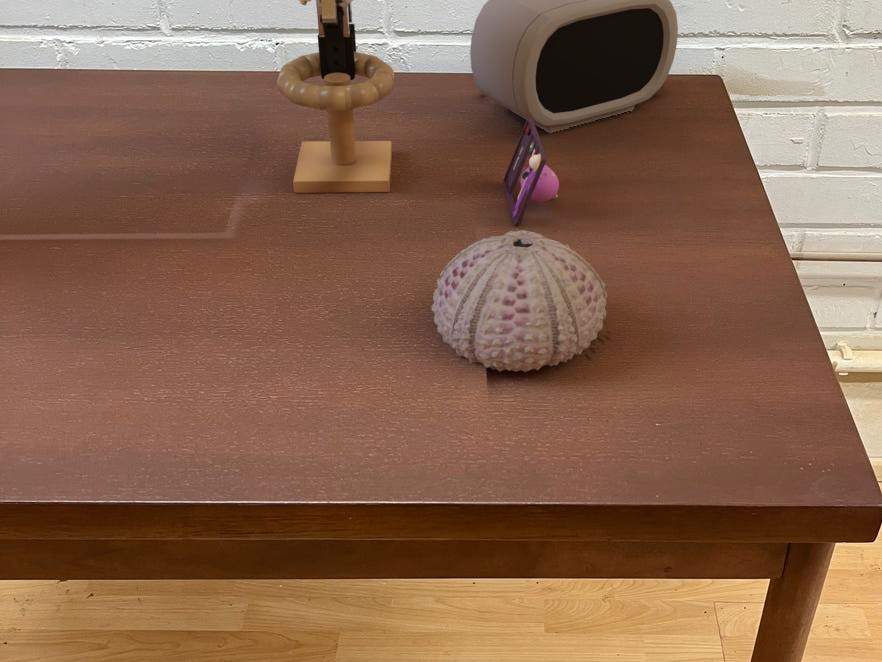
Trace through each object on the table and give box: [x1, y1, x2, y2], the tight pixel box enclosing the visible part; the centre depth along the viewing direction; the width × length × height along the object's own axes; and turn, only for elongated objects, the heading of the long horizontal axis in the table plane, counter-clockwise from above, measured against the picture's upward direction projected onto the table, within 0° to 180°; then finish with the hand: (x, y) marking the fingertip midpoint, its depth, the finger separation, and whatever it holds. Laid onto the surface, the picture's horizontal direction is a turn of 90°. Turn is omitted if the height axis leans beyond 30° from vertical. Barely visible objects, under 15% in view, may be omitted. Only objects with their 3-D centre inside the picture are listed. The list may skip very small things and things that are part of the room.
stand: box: [292, 73, 393, 194], centre depth 96 cm, size 9×9×9 cm
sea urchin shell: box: [430, 229, 609, 373], centre depth 75 cm, size 13×14×8 cm
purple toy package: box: [502, 117, 560, 227], centre depth 92 cm, size 7×5×9 cm
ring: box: [276, 51, 395, 111], centre depth 93 cm, size 11×11×2 cm
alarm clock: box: [469, 0, 679, 134], centre depth 106 cm, size 21×10×13 cm, turn 123°
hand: (339, 71), depth 96 cm, fingers closed on ring, 2 cm apart
